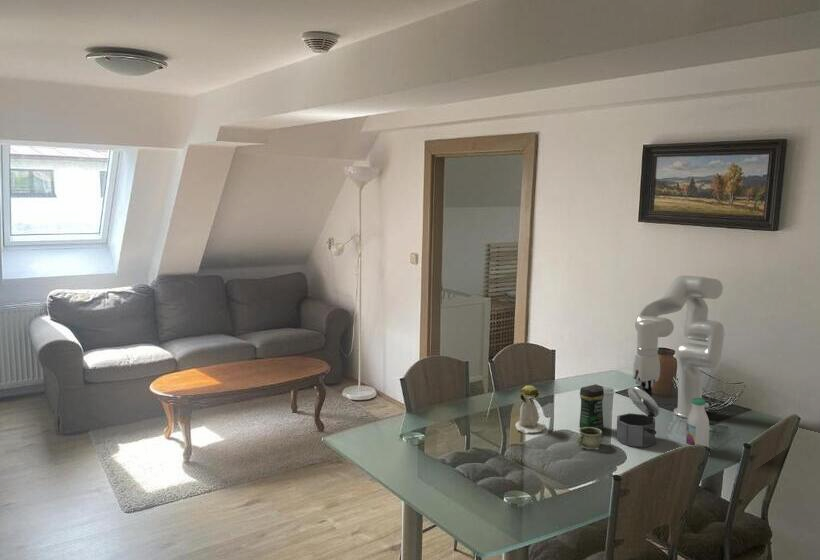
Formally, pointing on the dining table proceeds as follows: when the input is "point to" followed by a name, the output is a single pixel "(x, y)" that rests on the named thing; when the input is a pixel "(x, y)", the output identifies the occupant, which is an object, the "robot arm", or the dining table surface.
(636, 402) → the lid
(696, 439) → the milk bottle
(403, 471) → the dining table surface
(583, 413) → the coffee jar
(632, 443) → the pot
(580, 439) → the vessel
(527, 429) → the white figurine
